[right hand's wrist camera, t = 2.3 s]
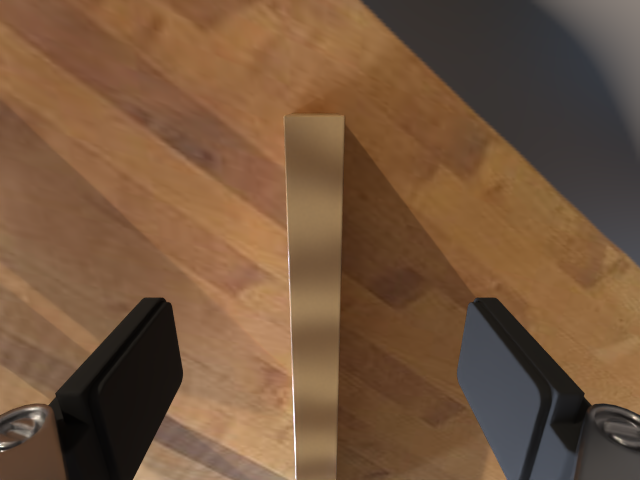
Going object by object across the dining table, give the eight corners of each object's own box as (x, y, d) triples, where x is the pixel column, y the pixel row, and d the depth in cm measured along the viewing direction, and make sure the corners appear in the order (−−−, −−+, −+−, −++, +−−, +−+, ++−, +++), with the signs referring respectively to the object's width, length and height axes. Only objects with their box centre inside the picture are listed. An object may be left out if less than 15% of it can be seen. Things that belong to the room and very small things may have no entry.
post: (291, 113, 33) (283, 115, 25) (338, 113, 33) (344, 115, 25) (301, 514, 53) (299, 587, 45) (331, 513, 53) (333, 586, 45)
